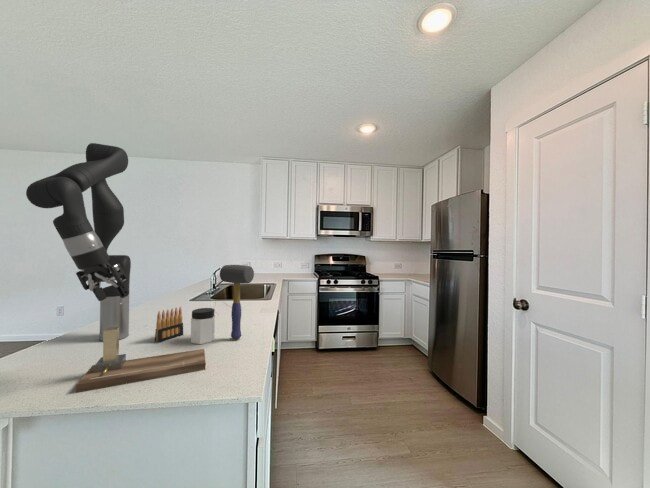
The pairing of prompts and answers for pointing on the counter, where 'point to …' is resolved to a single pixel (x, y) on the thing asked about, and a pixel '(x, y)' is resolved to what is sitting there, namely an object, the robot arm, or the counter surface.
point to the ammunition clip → (169, 325)
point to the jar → (202, 326)
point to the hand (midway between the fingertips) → (114, 298)
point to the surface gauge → (110, 352)
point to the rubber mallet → (236, 291)
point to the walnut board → (144, 370)
